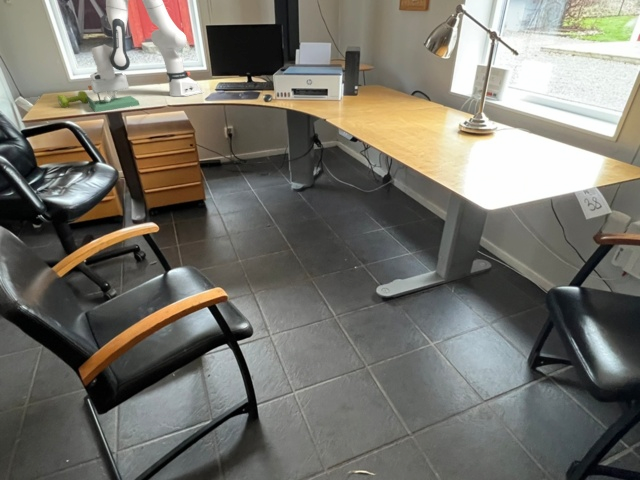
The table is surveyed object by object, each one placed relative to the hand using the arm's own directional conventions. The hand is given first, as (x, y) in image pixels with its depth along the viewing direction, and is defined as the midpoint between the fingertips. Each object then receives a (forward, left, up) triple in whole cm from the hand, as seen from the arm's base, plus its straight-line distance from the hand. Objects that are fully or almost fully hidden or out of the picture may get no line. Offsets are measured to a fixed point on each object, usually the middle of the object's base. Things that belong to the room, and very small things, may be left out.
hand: (113, 98), depth 236 cm
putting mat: (+1, 0, -4) cm, 4 cm away
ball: (+4, 0, 0) cm, 4 cm away
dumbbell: (+20, -20, -5) cm, 28 cm away
